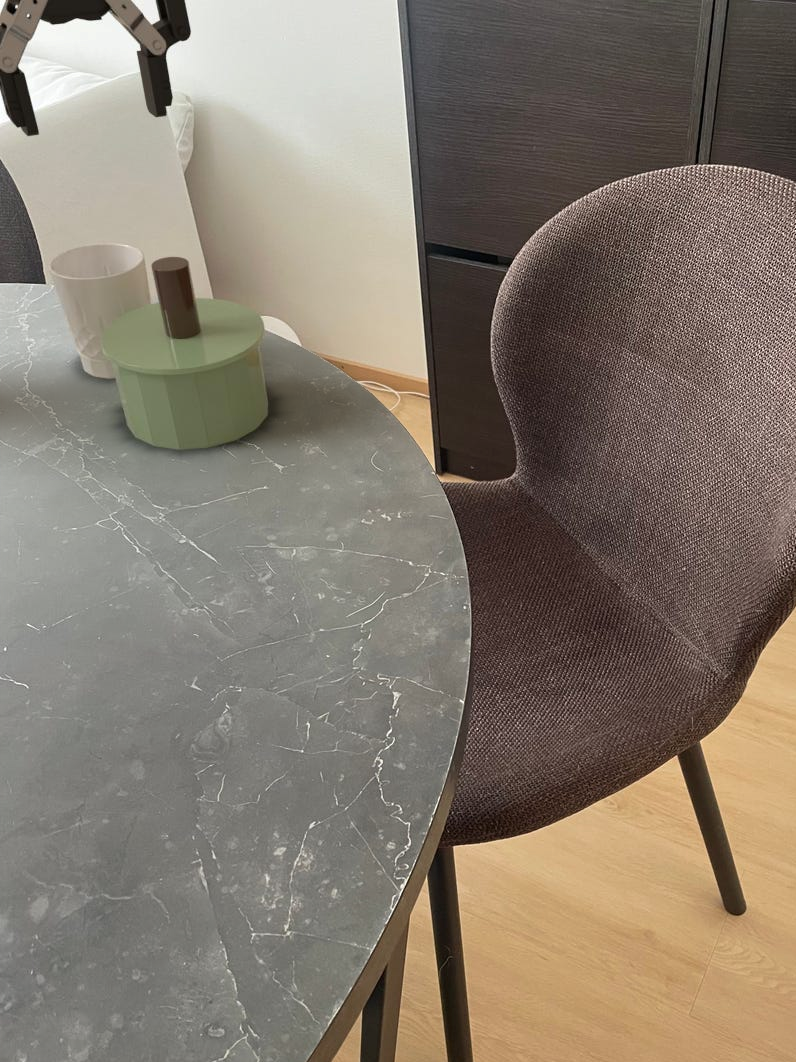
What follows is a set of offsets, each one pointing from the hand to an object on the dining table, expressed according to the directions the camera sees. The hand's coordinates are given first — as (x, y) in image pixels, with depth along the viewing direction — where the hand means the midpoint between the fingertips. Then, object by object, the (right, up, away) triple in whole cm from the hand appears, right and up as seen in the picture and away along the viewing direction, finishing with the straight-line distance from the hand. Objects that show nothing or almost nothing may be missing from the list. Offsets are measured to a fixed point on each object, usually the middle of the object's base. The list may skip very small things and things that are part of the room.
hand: (95, 123), depth 70 cm
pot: (+2, -16, +19) cm, 25 cm away
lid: (+2, -10, +14) cm, 17 cm away
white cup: (-7, -10, +26) cm, 29 cm away
